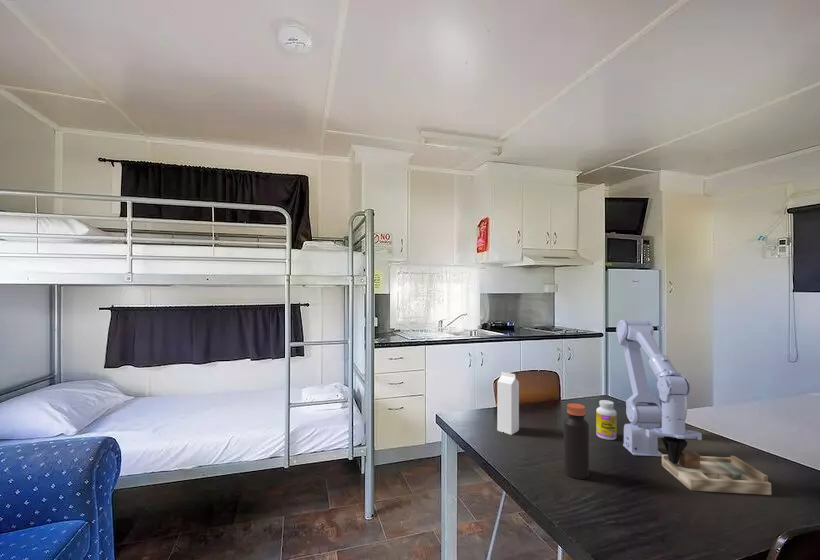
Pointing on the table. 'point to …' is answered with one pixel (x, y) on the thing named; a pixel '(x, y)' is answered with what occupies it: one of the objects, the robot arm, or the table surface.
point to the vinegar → (576, 442)
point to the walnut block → (689, 459)
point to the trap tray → (720, 476)
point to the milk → (507, 403)
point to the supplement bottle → (606, 420)
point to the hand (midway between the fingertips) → (673, 462)
